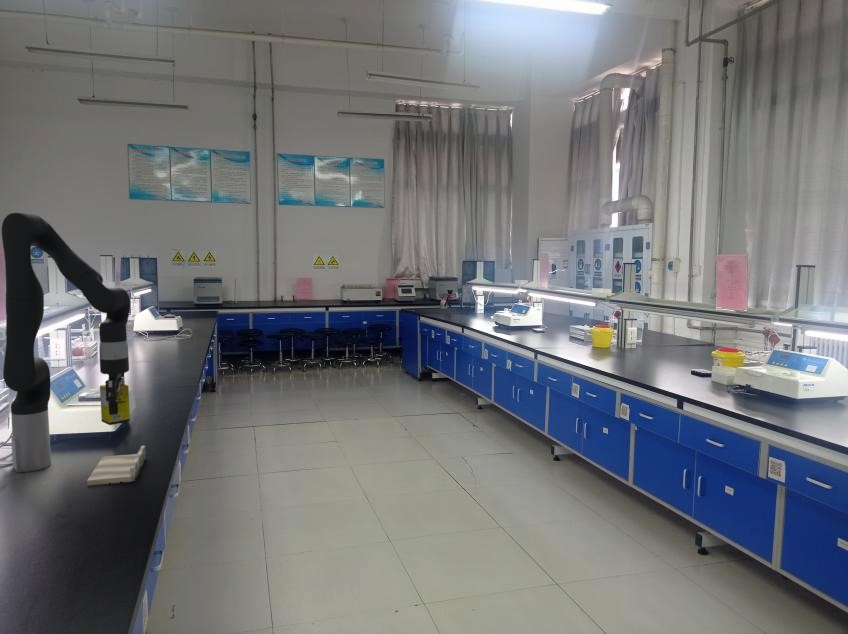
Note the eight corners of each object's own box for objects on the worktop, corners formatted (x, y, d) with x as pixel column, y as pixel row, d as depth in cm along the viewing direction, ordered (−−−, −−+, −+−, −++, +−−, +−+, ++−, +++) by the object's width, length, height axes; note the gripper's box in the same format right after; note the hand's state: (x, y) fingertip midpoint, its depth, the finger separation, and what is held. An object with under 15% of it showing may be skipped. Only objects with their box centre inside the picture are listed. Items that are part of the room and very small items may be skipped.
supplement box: (130, 421, 176) (129, 385, 175) (109, 425, 172) (107, 388, 171) (122, 417, 180) (120, 382, 179) (101, 421, 176) (99, 385, 175)
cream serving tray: (135, 481, 169) (134, 467, 169) (87, 485, 166) (86, 471, 165) (146, 457, 188) (145, 445, 188) (103, 461, 185) (102, 448, 184)
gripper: (123, 360, 168) (126, 416, 170) (132, 351, 182) (134, 403, 184) (94, 361, 166) (96, 418, 168) (105, 352, 180) (107, 405, 181)
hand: (116, 410), depth 176 cm, fingers closed on supplement box, 8 cm apart
